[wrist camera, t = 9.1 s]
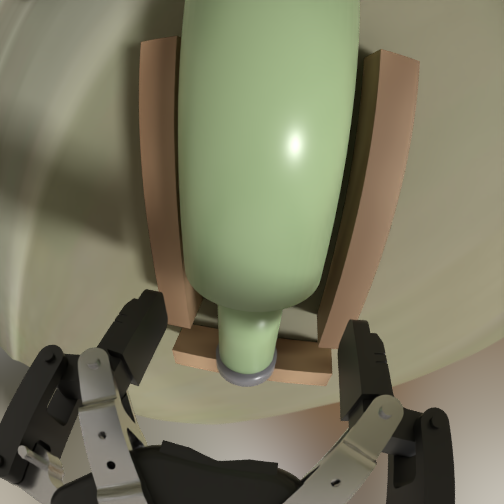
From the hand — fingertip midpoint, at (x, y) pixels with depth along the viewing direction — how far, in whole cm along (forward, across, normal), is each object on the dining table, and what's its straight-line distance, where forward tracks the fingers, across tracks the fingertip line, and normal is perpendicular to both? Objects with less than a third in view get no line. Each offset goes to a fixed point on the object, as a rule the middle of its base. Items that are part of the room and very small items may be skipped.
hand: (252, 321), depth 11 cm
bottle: (+1, 0, -13) cm, 13 cm away
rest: (+4, 0, -2) cm, 4 cm away
